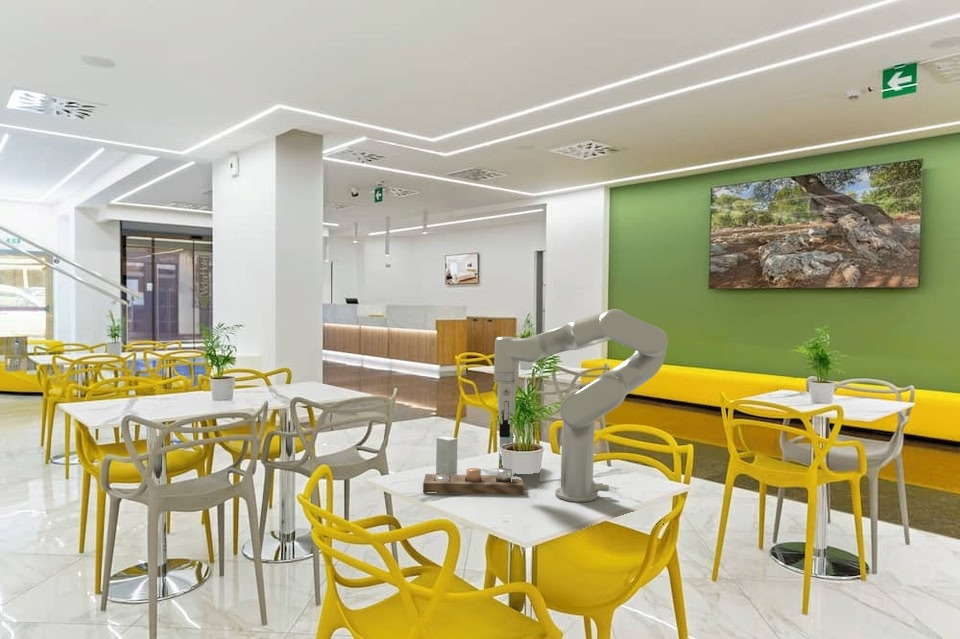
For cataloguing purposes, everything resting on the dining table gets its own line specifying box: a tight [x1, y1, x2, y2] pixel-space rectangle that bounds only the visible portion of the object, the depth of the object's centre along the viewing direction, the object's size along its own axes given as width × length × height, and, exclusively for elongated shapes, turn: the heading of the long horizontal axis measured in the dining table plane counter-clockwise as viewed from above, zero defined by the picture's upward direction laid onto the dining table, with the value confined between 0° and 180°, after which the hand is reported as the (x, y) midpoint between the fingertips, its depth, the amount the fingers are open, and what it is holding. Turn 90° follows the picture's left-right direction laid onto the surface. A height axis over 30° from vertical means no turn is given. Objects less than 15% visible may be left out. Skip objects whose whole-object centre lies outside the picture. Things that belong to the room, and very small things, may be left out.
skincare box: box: [435, 436, 458, 475], centre depth 215 cm, size 6×4×12 cm
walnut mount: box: [422, 473, 524, 496], centre depth 199 cm, size 30×10×3 cm, turn 90°
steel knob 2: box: [496, 468, 512, 482], centre depth 199 cm, size 4×4×3 cm
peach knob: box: [465, 467, 482, 482], centre depth 199 cm, size 4×4×3 cm
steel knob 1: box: [435, 475, 450, 481], centre depth 199 cm, size 4×4×3 cm
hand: (504, 436), depth 198 cm, fingers closed
